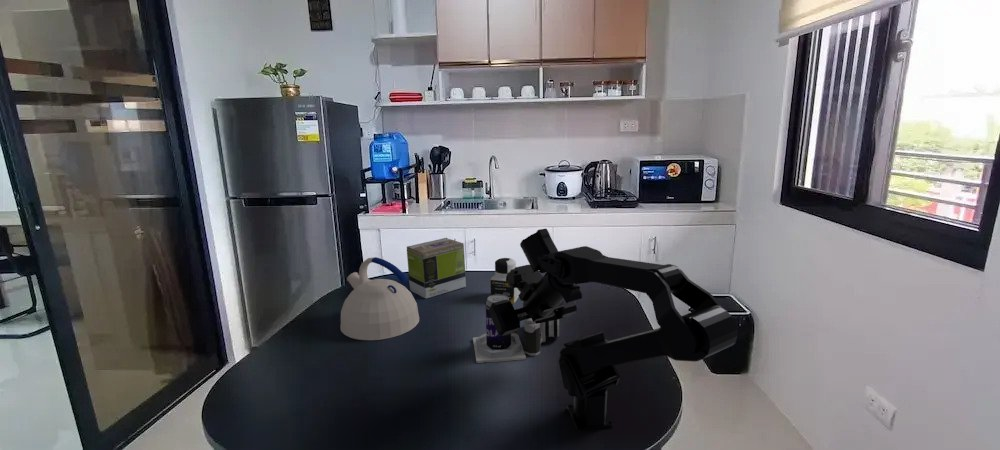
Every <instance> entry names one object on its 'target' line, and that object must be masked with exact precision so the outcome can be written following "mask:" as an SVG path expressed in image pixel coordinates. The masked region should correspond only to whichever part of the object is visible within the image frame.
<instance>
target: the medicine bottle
mask: <svg viewBox="0 0 1000 450" xmlns="http://www.w3.org/2000/svg"><path fill="white" fill-rule="evenodd" d="M516 265H517V261H516V260H515V259H513V258H510V257H500V258H499V259H496V260H495V261H494V273H495V274H494V275H493V276H492V277H491V278H490V296H491V295H497V294H500V295H506V296H508V297H509V301H511V303H512V305H514V304H515V303H516V302H517V300H518V298H519V296H518V295H519V294H520V293H521V292H520V291H519V290H518V289H517V288H511V287H510V286H509V285H508V283H507V282H506V276H507V274H508V273H509V272H510V271H511V270H512V269H514V268H515V267H517V266H516Z"/></svg>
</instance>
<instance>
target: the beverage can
mask: <svg viewBox="0 0 1000 450" xmlns="http://www.w3.org/2000/svg"><path fill="white" fill-rule="evenodd" d="M506 299H507V300H509V297H508V296H506V295H500V294H497V295H491V294H490V295H489V296H488V297H487V300H486V301H485V328H486V330H485V333H486V342H487V346H488V347H489V348H490V349H491V350H503V349H507V348H508V347H509V346H510V345H511V334H508V335H503V336H501V335H499V334H498V332H497V330H496V328H495V325H494V323H493V321H492V318H491V316H490V314H489V312H488V309H489V307H490V306H491V304H492V303H494V302H498V301H502V300H506Z"/></svg>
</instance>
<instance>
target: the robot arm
mask: <svg viewBox="0 0 1000 450" xmlns="http://www.w3.org/2000/svg"><path fill="white" fill-rule="evenodd" d="M519 246H520V248H521V250H522V252H523V254H524V256H525V258H526V259H527V262H528V263H529V264H525V265H520V266H519V265H518V266H516V267H515V268H514V269H512V270H511V271H510V272H509V273H508V274H507V276H506V282H507V283H508V285H509V286H510V287H511V288H517V289H518V290H519V291H520V294H519V295H518V296H519V297H518V298H519V299H520V301H523V303H522V307H520V308H517V309H515V307H514V304H512V303H511V301H509V300H507V299H506V300H502V301H498V302H494V303H492V304H491V306H490V307H489V309H488V312H489V314H490V316H491V318H492V321H493V323H494V325H495V328H496V330H497V332H498V334H499V335H501V336H503V335H508V334H511V333H517V331H519V329H521V322H524V320H528V319H531V318H532V320H533V322H535V323H536V324H538V323H543V322H548V321H553V320H558V319H559V320H560V319H564V318H567V317H569V316H573V315H574V314H575V313H576V312H577V311H578V304H577V302H576V301H579V300H582V299H583V294H582V290H581V286H580V285H581V284H588V283H589V284H590V283H596V284H602V285H605V286H610V287H615V288H620V289H624V290H629V291H633V292H639V293H641V294H642V293H644V294H646V295H647V297H648V298H649V299H650V300H651V302H652V306H653V307H652V308H653V311H654V315H655V318H656V319H655V320H656V323H657V324H658V326H659V327H658V328H656V329H650V330H647V331H643V332H640V333H635V334H631V335H627V336H622V337H619V338H615V339H611V340H608V339H606V338H605V333H604V331H599V332H597V333H594V334H589V335H586V336H581V337H579V338H576V339H574V340H570V341H568V342H566V343H563V346H564V347H563V348H562V349H561V350H560V351H559V356H560V357H559V358H558V365H559V369H560V375H561V379H562V380H561V381H562V384H563V388H564V389H565V390H567V393H568V395H569V396H570V397H573V403H572V404H568V405H567V411H568V412H569V415H570V418H571V420H572V422H573V425H574V426H575V428H576V430H580V431H581V430H590V429H600V428H602V429H603V428H611V427H613V425H614V422H613V421H612V419H611V417H610V415H609V413H608V412H607V411H608V410H607V400H608V388H611V387H613V386H617V385H618V383H619V382H620V379H621V375H620V374H619V372H618V369H617V368H616V366H619V365H623V364H629V363H634V362H639V361H645V360H652V359H655V358H661V357H668V358H669V359H671V360H674V361H678V362H679V361H680V362H681V361H682V362H699V361H702V360H704V359H706V358H709V357H710V356H713V355H715V354H717V353H719V352H721V351H724V350H725V349H728V348H730V347H732V346H734V345H735V344H736V343H737V338H738V335H739V334H738V333H739V331H738V330H739V329H738V326H737V322H736V320H735V319H734V318H733V316H732V315H731V313H730V312H728V311H727V310H726V309H725V308H724V307H723V306H722V305H721V304H720V303H719V301H718V300H717V299H716V298H715V297H714V295H713V294H711V293H710V292H709V291H708V290H706V289H704V288H703V287H701V286H700V285H698V284H697V283H695V282H694V281H692V280H691V279H690V278H689V277H688V275H686V273H685V272H684V271H683V270H682V268H680V267H679V266H677V265H675V264H671V263H667V264H666V263H665V264H659V263H654V262H653V263H652V262H645V261H638V260H633V259H632V260H631V259H624V258H615V257H610V256H609V257H608V256H606V255H604V254H603V253H602V252H601V251H600V250H598V249H596V248H593V247H590V246H587V245H585V246H578V247H574V248H569V249H565V250H564V249H563V250H558V248H557V246H556V244H555V242H554V240H553V239H552V237H551V234H550V232H549V230H548V229H547V228H541V229H537V230H536V232H534V233H531V234H530V235H528V236H527V237H526V238H524V239H522V240H521V241H520V244H519ZM542 274H544V275H542ZM673 296H674V297H675V298H676V299H678V300H679V301H681V302H682V303H684V304H685V305H687V306H688V307H690V308H691V309H693V311H691V312H688V313H686V314H683V315H681V313H680V312H679V311H678V310H677V309H676V306H675V303H674V299H673ZM523 315H524V316H523Z"/></svg>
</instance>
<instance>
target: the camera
mask: <svg viewBox="0 0 1000 450" xmlns="http://www.w3.org/2000/svg"><path fill="white" fill-rule="evenodd" d="M523 316H524V315H523ZM523 324H524V326H523V332H524V333H523V334H524V347H523V350H524V353H525V355H528V356H538V355H540V354H541V344H542V343H545V342H546V338H548V337H549V338H551V337H552V338H558V337H560V319H558V320H553V321H548V322H543V323H538V324H536V323H535V322H533V320H532V318H531V319H528V320H524V321H523Z"/></svg>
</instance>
